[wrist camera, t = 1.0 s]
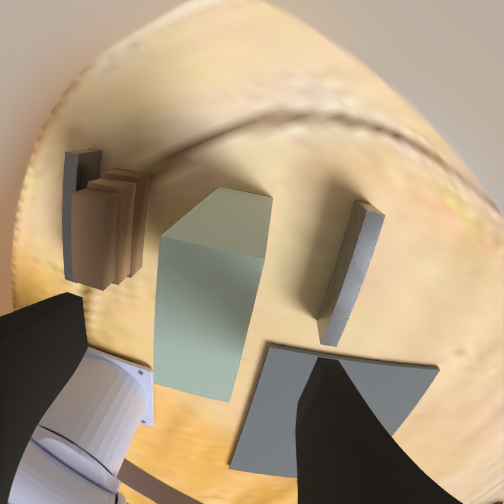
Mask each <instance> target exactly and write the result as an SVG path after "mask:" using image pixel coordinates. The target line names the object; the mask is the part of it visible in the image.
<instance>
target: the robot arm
mask: <svg viewBox="0 0 504 504" xmlns="http://www.w3.org/2000/svg"><path fill="white" fill-rule="evenodd" d="M140 370H141V371H140ZM140 423H141V424H144V425H147V426H153V424H154V392H153V371H152V370H151V369H150V368H148V367H145V366H142V365H139V364H136V363H133V362H130V361H127V360H124V359H121V358H118V357H115V356H113V355H110V354H107V353H104V352H102V351H99V350H96V349H94V348H91V347H89V346H88V343H87V336H86V328H85V319H84V309H83V298H82V297H80V296H77V295H74V294H71V293H69V292H66V293H63V294H59V295H56V296H53V297H51V298H48V299H45V300H43V301H40V302H37V303H35V304H32V305H30V306H27V307H25V308H22V309H19V310H17V311H14V312H12V313H9V314H6V315H4V316H1V317H0V504H126V501H125V497H124V495H123V494H122V493H120V492H119V491H118V489H119V486H120V484H121V481H120V480H118V479H116V476H117V473H118V471H119V469H120V467H121V464H122V462H123V460H124V458H125V455H126V453H127V451H128V448H129V446H130V444H131V442H132V439H133V437H134V435H135V433H136V430H137V428H138V426H139V424H140ZM295 440H296V462H297V484H298V504H463V503H461V502H460V501H458V500H457V499H456V498H454V497H453V496H452V495H450V494H449V493H448V492H446V491H445V490H444V489H443V488H441V487H440V486H439V485H438V484H437V483H436V482H434V481H433V480H432V479H431V478H430V477H429V476H428V475H426V474H425V473H424V472H423V471H422V470H421V469H420V468H419V467H418V466H417V465H416V464H415V463H414V462H413V461H412V460H411V458H410V457H409V456H408V455H407V454H406V453H405V452H404V451H403V450H402V449H401V448H400V446H399V445H398V444H397V443H396V442H395V441H394V439H393V438H392V437H391V435H390V434H389V433H388V432H387V430H386V429H385V428H384V427H383V425H382V424H381V423H380V421H379V420H378V419H377V417H376V416H375V414H374V413H373V412H372V410H371V409H370V407H369V406H368V404H367V403H366V402H365V400H364V399H363V397H362V396H361V394H360V393H359V391H358V390H357V388H356V386H355V385H354V383H353V382H352V380H351V379H350V377H349V376H348V374H347V373H346V371H345V369H344V368H343V366H342V365H341V363H340V362H339V361H338V360H336V359H329V358H323V357H318V358H317V360H316V363H315V365H314V367H313V370H312V372H311V374H310V376H309V379H308V381H307V383H306V385H305V387H304V390H303V392H302V394H301V396H300V398H299V400H298V402H297V414H296V427H295Z"/></svg>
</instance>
